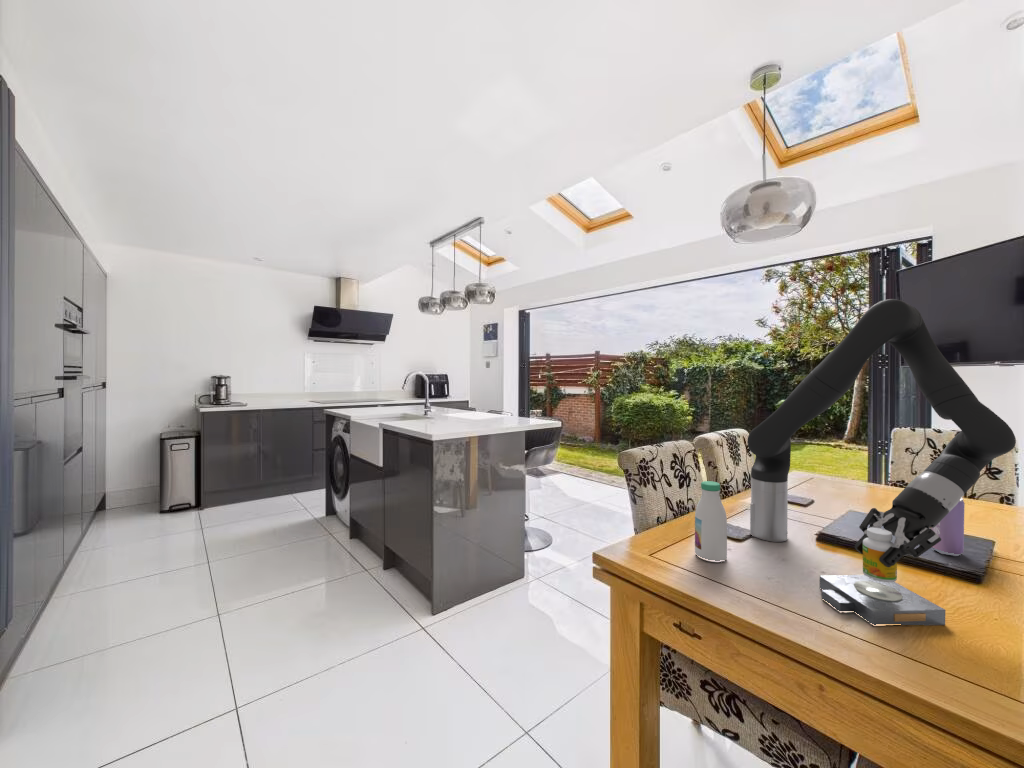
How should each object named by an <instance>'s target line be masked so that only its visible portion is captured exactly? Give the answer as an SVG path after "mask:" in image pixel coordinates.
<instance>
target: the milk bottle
mask: <svg viewBox="0 0 1024 768" xmlns="http://www.w3.org/2000/svg"><path fill="white" fill-rule="evenodd" d="M700 491H701V496H700V499H699V501H698V503H697V505H696V507H695V514H694V552H695V553H696V554H697V555H698V556H700V557H702V558H705V559H708V560H715V561H720V560H725V559H726V560H727V558H728V524H727V523H728V520H727V519H728V518H727V511H726V509H725V507H724V504H723V503H722V500H721V497H720V493H721V484H720V483H719V482H717V481H712V480H711V481H710V480H705V481H704V480H703V481H701V483H700ZM695 553H694V554H695ZM696 554H695V555H696Z"/></svg>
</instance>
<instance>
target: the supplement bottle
mask: <svg viewBox="0 0 1024 768" xmlns="http://www.w3.org/2000/svg"><path fill="white" fill-rule="evenodd" d="M881 528H882V527H881ZM881 528H869V527H867V536H868V538H865V539H864V540H863V554H862V573H863V575H866V576H867V577H869V578H871V579H874V580H877V581H881V582H896V581H897V579H898V562H896V564H895V565H893V566H891V567H886V566H884V565H883V564H882V563H881V562H880V561H879V558H880V557H881V556H882V555H883V554H884V553H885V552H886V551H887V550H888V549H889V548H890V547H893V548H894V546H893V545H894V542H893V541H892V540H893V535H892V532H890V531H888V530H885V529H884V528H882V529H881Z"/></svg>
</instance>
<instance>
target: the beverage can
mask: <svg viewBox="0 0 1024 768" xmlns="http://www.w3.org/2000/svg"><path fill="white" fill-rule="evenodd" d="M931 529H932V530H933V531H934V532H935V533H936V534H937V535H938V536H939V537H940V538H941V541H940V542H938V543H937V544H936V545H934V546H933V548H935V549H938V550H941V551H944V552H948V553H954V554H961V553H963V552H964V551H965V547H964V546H965V544H964V543H965V501H964V498H963V497H962V498H961V499H960V501H959V502H958V504H957V505H956V506H955V507H954V508H953V509H952V510H951V511H950V512H949V513H948V514H947V515H946V516H945V517H944V518H943V519H942V520H941V521H940V522H939V523H938V524H937V525H936V526H935V527H933V528H931ZM963 554H964V553H963Z"/></svg>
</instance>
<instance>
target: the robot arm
mask: <svg viewBox="0 0 1024 768" xmlns="http://www.w3.org/2000/svg"><path fill="white" fill-rule="evenodd" d="M887 343H889V344H890V346H892V347H893V348H894V349H895V350H896V351H897V352H898V353H899V354H900V355H901V357H902V358H903V359H904V360H905V362H906V364H907V366H908V367H909V368H910V371H911V374H912V376H913V378H914V380H915V383H916V385H917V386H918V388H919V390H920V392H921V393H922V396H923V397H924V398H925V400H927V402H928V403H929V405H930V406H931V407H932V410H934V412H935V413H936V414H937V416H939V417H940V418H941V419H943V420H947V421H950V420H951V421H952V422H953V423H954V424H955V425H956V427H958V428H959V429H960V430H961V431H960V432H958V433H957V434H956V435H955V436H954V437H953V438H952V439H951V440H950V441H949V442H948V443H947V445H946V446H945V448H943V450H942V451H941V452H940V455H938V457H937V458H935V459H934V460H933V461H932V462H931V463H930V464H929V465H928V466H927V467H926V468H925V469H924V470H923V471H922V472H921V473H920V474H919V475H917V476H916V477H915V478H913V480H911V481H910V482H909V484H908V485H906V486H905V487H904V489H903V490H902V491H901V492H900V493H898V495H897V496H896V497H895V498H894V499H893V500H892V504H891V505H892V506H891V508H890V509H888V510H886V511H880V510H878V509H877V508H876V507H873V508H871V509H870V510H869V511H868V512H867V514H866V515H865V517H864V519H863V520H862V522H861V524H859V527H858V528H859V530H861V531H862V532H863V535H862V536H861V537H860V538H859V540H857V542H855V545H854V549H855V550H856V551H857V552H859V554H861V555H863V540H864V539H865V538H868V536H867V528H881V529H885V530H888V531H890V532H892V537H895V539H894V542H893V543H894V545H893V546H894V548H893V547H890V548H889V549H888V550H887V551H886V552H885V553H884V554H883V555H882V556H881V557H880V558H879V561H880V562H881V563H882V564H883V565H884V566H886V567H891V566H893V565H895V564H896V562H897V563H898V562H899V561H900V560H901V559H902V558H903V557H907V556H912V557H913V558H919V557H921V556H922V555H923V554H925V553H926V552H927V551H928V550H930V549H932V547H933V546H934V545H936V544H937V543H938V542H940V541H941V538H940V537H939V536H938V535H937V534H936V533H935V532H934V531H933V530H932V528H933V527H935V526H936V525H937V524H938V523H939V522H940V521H941V520H942V519H943V518H944V517H945V516H946V515H947V514H948V513H949V512H950V511H951V510H952V509H953V508H954V507H955V506H956V505H957V504H958V502H959V501H960V499H961V498H963V497H964V495H965V494H966V493H967V492H968V491H969V490H970V489H971V488H972V487H973V486H974V485H975V484H976V483H977V481H978V480H979V479H980V477H981V476H980V475H981V471H982V470H983V469H984V468H985V467H987V465H988V464H989V463H990V462H992V461H993V460H994V459H996V458H998V457H1000V456H1003V455H1005V454H1007V453H1010V452H1012V450H1013V449H1014V448H1015V447H1016V442H1017V440H1016V436H1015V433H1014V431H1013V430H1012V428H1011V427H1010V425H1009V424H1008V423H1007V422H1005V420H1003V419H1002V418H1001V417H1000V416H999V415H998V414H997V413H995V412H994V411H993V410H991V409H990V408H989V407H988V406H986V405H985V404H984V403H982V402H981V401H980V400H979V399H978V397H977V396H976V395H975V394H974V392H973V391H972V389H971V388H970V387H969V386H968V384H967V383H966V381H965V380H964V379H963V378H962V376H960V375H959V374H958V372H957V371H956V370H955V369H954V367H953V365H951V364H950V362H949V361H948V360H947V358H946V357H945V356H944V355H943V352H941V351H940V349H939V347H938V346H937V345H936V343H935V340H934V339H933V338H932V336H931V334H930V331H929V329H928V328H927V325H926V322H925V320H924V319H923V316H922V314H921V312H920V311H919V309H917V308H916V307H915V306H912V304H909V303H907V302H906V301H903V300H900V299H896V298H889V299H884V300H880V301H878V302H877V303H875V304H873V305H872V306H870V308H868V309H867V311H865V312H864V313H863V315H862V316H861V317H860V319H859V320H858V321H857V323H855V325H854V326H853V327H852V329H851V330H850V331H849V332H848V333H847V335H846V336H845V337H844V339H842V341H840V343H839V344H837V346H835V348H834V349H832V351H831V352H829V354H828V355H826V356H825V357H824V358H823V360H822V361H821V362H820V363H819V364H818V365H816V367H814V368H813V369H812V370H811V371H810V372H809V374H807V376H805V377H804V378H803V379H802V381H800V382H799V384H798V385H797V386H796V387H795V388H794V390H792V392H791V393H790V394H789V395H788V396H787V398H785V400H784V401H783V402H782V403H781V404H780V406H779V407H778V408H777V409H776V410H775V411H773V412H772V413H771V414H770V415H769V416H768V417H767V418H766V419H765V420H762V422H760V424H758V425H757V426H755V427H754V428H753V429H752V430H750V432H749V434H748V436H747V439H746V440H747V441H746V443H747V448H748V449H749V451H750V452H751V453H752V454H753V455H755V458H754V463H753V465H752V466H751V471H750V477H751V478H750V486H751V487H750V491H751V493H750V494H751V495H750V501H751V502H750V505H749V508H750V509H749V510H750V511H749V514H750V516H749V519H750V521H749V529H750V530H749V531H750V532H749V533H750V534H751V535H752V536H751V537H754V538H757V539H760V540H763V541H765V542H775V543H781V542H786V541H787V540H788V515H789V514H788V512H789V511H788V508H789V507H788V506H789V505H788V501H789V500H788V498H789V496H788V486H789V485H788V482H789V481H788V479H789V472H790V468H791V455H792V454H791V452H792V449H791V448H792V443H791V438H792V437H793V436H794V434H796V433H797V431H798V430H799V429H801V428H802V427H803V426H805V425H806V424H807V423H809V422H810V421H813V420H814V419H815V418H816V417H818V416H819V415H821V414H822V413H824V412H825V411H826V410H828V409H829V408H830V407H831V406H832V405H834V404H835V403H837V401H839V399H841V398H842V397H843V396H844V395H845V394H846V393H847V392H848V391H849V390H850V388H852V386H853V385H854V384H855V382H856V381H857V378H858V376H859V374H860V373H861V371H862V369H863V368H864V366H865V364H866V363H867V361H868V360H869V359H870V358H871V357H872V356H873V355H874V354H875V353H876V352H877V351H878V350H880V348H881V347H883V346H884V345H885V344H887ZM882 527H883V528H882Z"/></svg>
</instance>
